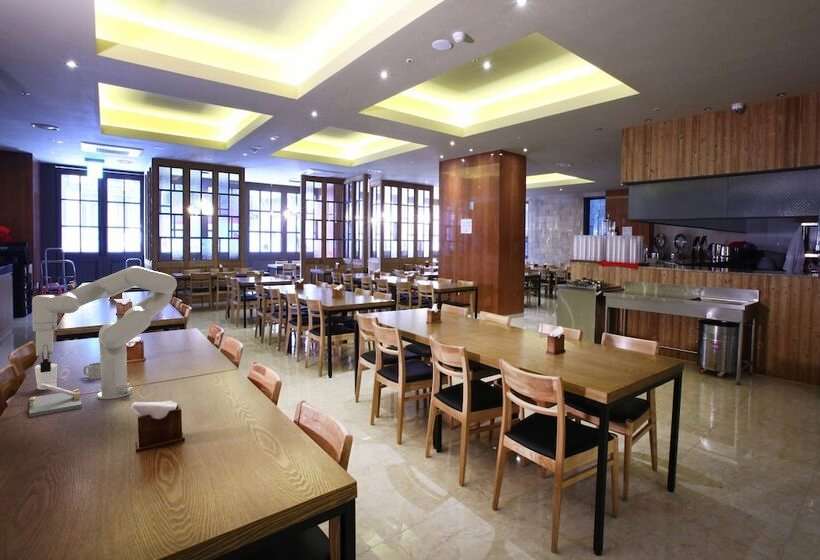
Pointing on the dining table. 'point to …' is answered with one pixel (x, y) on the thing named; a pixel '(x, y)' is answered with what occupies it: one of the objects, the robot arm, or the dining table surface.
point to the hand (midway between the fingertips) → (45, 371)
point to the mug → (93, 371)
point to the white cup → (46, 376)
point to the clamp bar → (57, 389)
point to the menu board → (54, 403)
